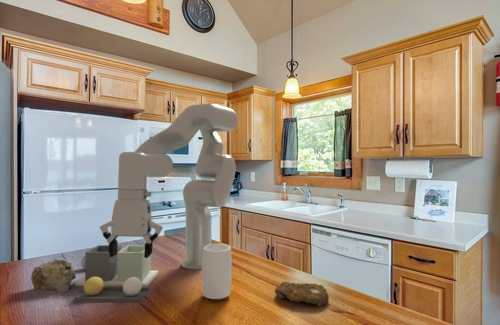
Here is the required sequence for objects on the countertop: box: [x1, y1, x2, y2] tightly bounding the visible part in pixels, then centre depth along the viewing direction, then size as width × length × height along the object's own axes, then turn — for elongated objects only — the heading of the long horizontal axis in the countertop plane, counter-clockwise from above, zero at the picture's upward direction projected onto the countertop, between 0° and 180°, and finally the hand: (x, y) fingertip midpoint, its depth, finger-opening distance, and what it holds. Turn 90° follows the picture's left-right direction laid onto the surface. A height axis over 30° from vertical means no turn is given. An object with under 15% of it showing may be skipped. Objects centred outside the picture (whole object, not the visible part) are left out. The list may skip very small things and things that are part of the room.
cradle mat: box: [70, 286, 152, 303], centre depth 84 cm, size 19×8×1 cm, turn 90°
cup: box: [201, 243, 233, 300], centre depth 84 cm, size 8×8×14 cm
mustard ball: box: [83, 277, 105, 296], centre depth 84 cm, size 5×5×5 cm
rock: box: [30, 258, 77, 293], centre depth 89 cm, size 12×7×10 cm, turn 73°
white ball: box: [122, 277, 143, 296], centre depth 84 cm, size 5×5×5 cm
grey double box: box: [74, 244, 159, 287], centre depth 95 cm, size 22×11×10 cm, turn 90°
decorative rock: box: [273, 281, 330, 307], centre depth 83 cm, size 11×4×15 cm
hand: (130, 256), depth 83 cm, fingers open, 9 cm apart
